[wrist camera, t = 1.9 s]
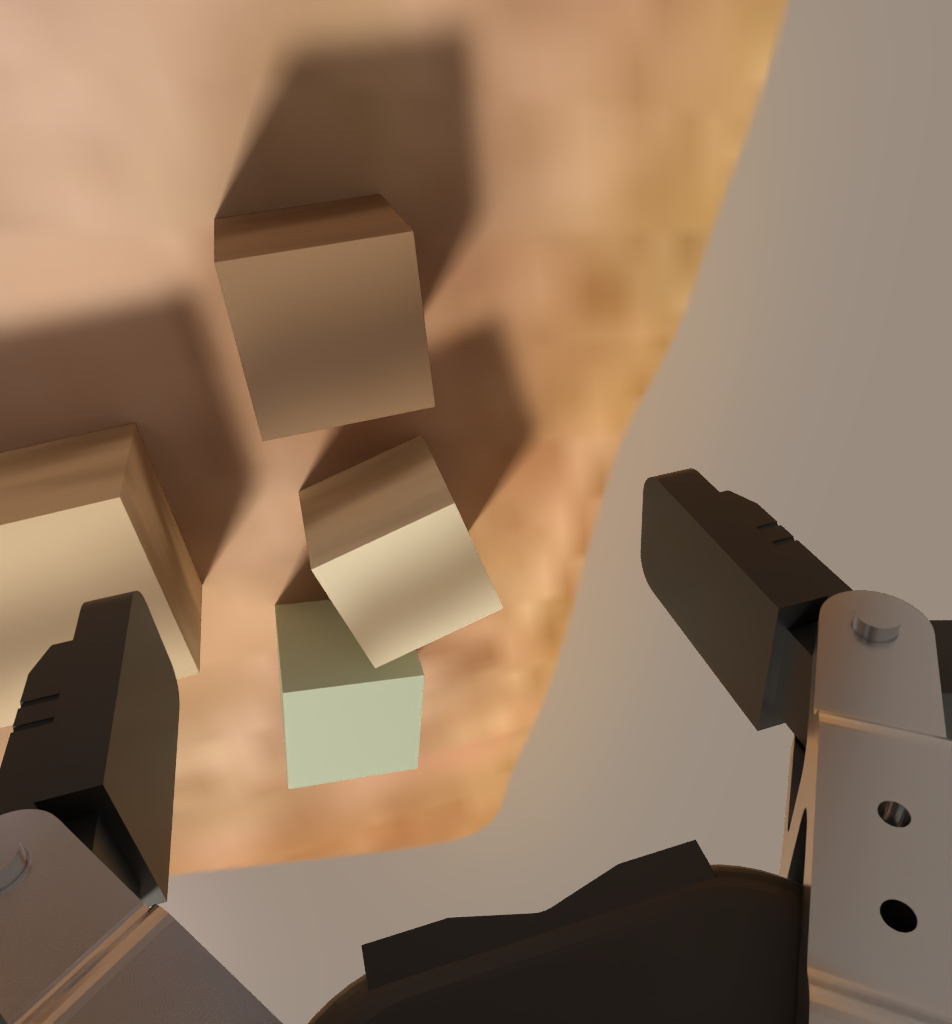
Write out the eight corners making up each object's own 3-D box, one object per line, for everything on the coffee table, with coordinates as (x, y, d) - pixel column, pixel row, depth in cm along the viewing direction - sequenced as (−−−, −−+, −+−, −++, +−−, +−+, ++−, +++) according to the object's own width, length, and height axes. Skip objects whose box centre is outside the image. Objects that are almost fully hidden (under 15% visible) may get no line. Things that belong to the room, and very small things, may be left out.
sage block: (274, 603, 31) (283, 693, 27) (398, 591, 32) (424, 675, 28) (280, 695, 34) (288, 789, 30) (394, 680, 35) (417, 768, 31)
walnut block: (214, 218, 23) (214, 262, 19) (379, 193, 24) (413, 231, 20) (254, 373, 26) (262, 441, 22) (401, 346, 27) (435, 406, 23)
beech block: (298, 490, 29) (310, 569, 25) (421, 433, 29) (454, 502, 25) (355, 584, 32) (375, 668, 28) (467, 531, 32) (503, 608, 28)
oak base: (-92, 470, 25) (-154, 561, 21) (135, 420, 26) (119, 497, 22) (9, 632, 29) (-26, 735, 25) (202, 582, 30) (199, 673, 26)
